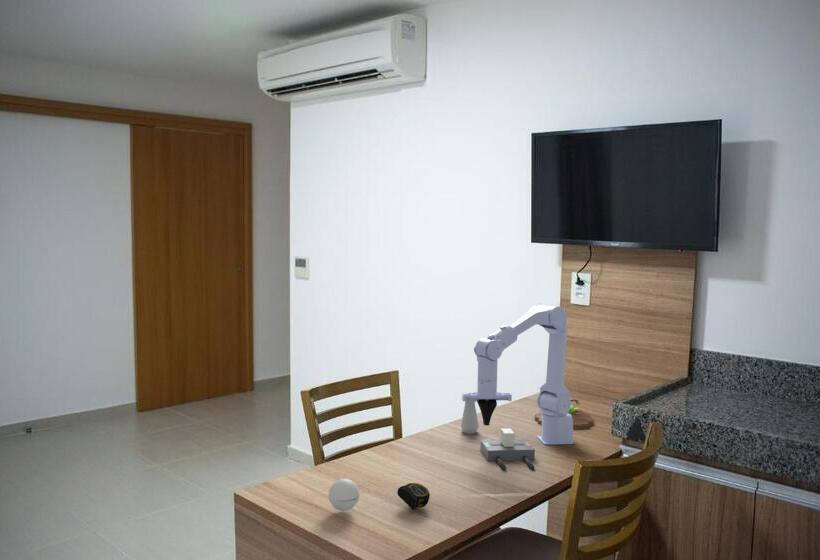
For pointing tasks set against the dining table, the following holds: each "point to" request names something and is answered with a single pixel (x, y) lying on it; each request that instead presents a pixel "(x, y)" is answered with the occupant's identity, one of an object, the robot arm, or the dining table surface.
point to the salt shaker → (469, 418)
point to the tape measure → (414, 495)
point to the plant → (573, 417)
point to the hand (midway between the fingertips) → (486, 424)
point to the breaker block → (507, 450)
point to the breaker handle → (507, 437)
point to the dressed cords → (523, 459)
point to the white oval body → (344, 494)
